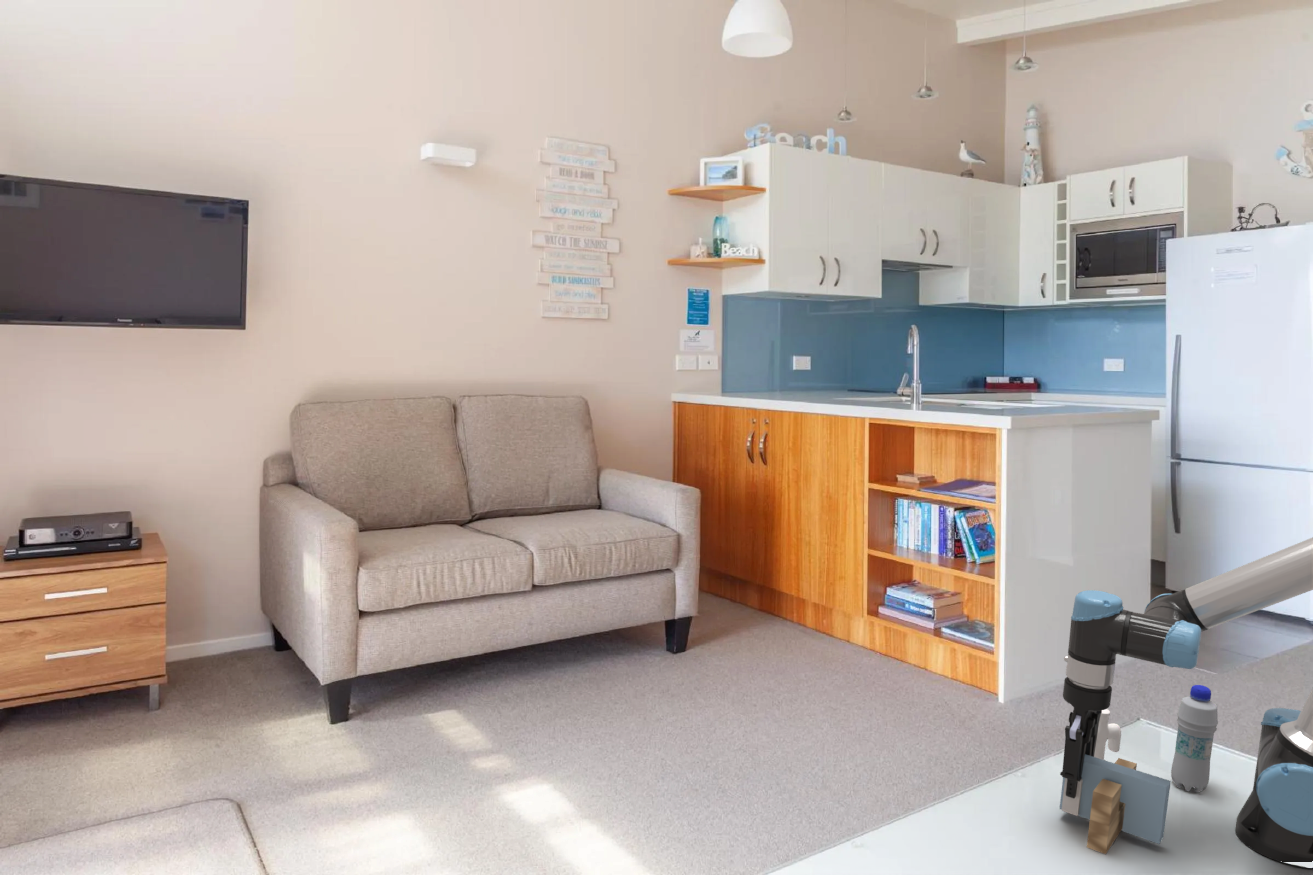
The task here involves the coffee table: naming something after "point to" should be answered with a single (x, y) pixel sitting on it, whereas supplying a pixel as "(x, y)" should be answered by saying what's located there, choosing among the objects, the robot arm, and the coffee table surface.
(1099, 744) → the figurine
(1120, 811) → the wooden block stack
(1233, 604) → the robot arm
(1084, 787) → the blue bridge block
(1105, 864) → the coffee table surface
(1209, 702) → the bottle
